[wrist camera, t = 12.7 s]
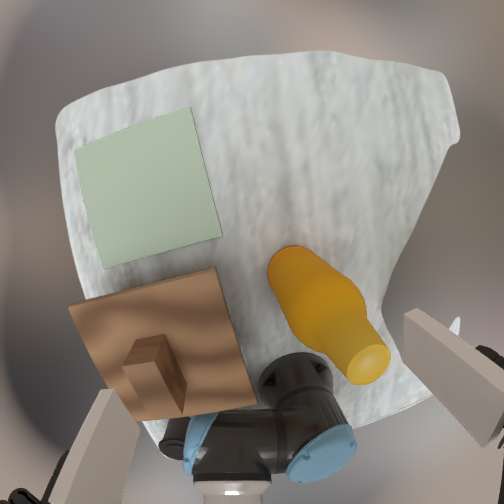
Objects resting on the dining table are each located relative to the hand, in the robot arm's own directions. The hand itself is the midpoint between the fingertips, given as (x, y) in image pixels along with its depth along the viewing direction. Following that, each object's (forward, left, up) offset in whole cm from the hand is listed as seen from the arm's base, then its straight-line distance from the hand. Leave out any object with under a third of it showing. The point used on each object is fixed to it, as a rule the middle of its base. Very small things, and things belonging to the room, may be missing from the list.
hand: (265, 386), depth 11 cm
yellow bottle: (-8, -8, -37) cm, 39 cm away
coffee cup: (-37, +23, -37) cm, 57 cm away
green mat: (+12, +13, -37) cm, 41 cm away
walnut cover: (-10, +13, -22) cm, 27 cm away
